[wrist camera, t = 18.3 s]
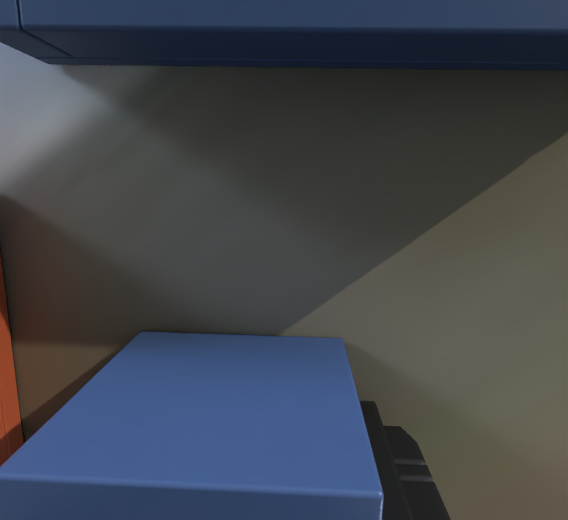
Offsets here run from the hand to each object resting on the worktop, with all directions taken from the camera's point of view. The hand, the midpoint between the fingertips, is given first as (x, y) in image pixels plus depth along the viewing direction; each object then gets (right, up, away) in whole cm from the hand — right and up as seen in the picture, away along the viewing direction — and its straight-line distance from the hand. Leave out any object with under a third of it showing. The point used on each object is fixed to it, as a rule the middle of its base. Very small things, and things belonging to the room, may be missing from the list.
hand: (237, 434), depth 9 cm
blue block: (0, 0, 0) cm, 0 cm away
